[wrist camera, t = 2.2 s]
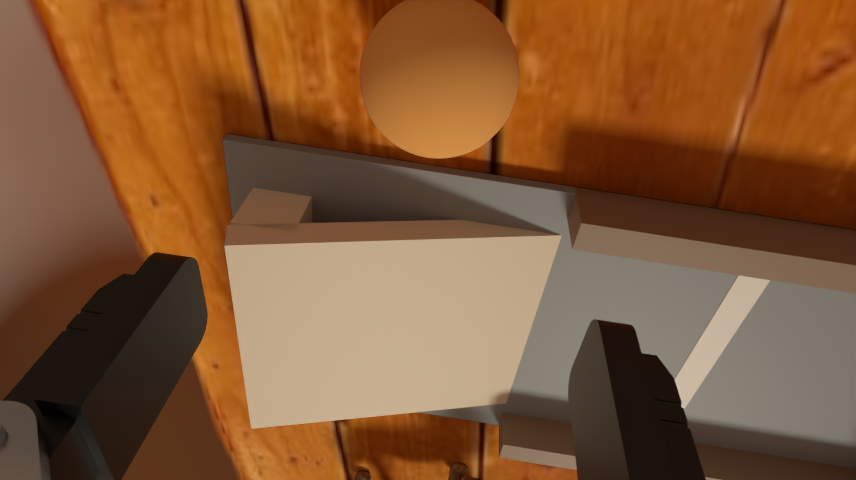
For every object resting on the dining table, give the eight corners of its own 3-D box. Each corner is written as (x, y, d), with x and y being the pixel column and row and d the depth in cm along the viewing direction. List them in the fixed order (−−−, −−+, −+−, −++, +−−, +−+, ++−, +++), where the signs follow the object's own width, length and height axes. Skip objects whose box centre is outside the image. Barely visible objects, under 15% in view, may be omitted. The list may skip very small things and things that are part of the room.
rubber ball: (379, -36, 22) (344, 6, 17) (532, -14, 21) (540, 35, 17) (371, 107, 25) (341, 174, 20) (502, 127, 25) (502, 199, 20)
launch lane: (261, 369, 39) (223, 457, 34) (233, 126, 28) (168, 201, 22) (861, 465, 38) (920, 571, 33) (1093, 257, 27) (1242, 368, 21)
